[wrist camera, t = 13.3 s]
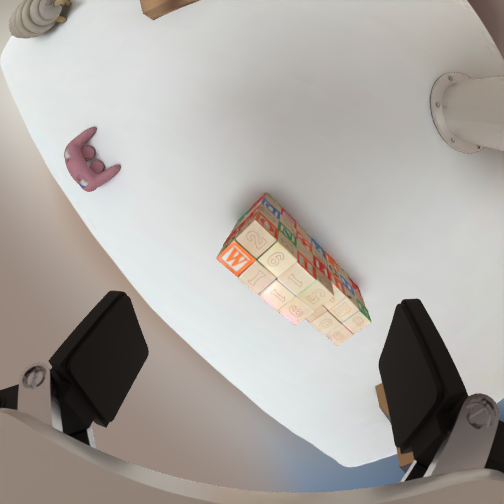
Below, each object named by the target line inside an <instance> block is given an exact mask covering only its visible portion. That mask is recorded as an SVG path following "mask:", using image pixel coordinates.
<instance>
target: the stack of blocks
mask: <svg viewBox="0 0 504 504" xmlns="http://www.w3.org/2000/svg"><path fill="white" fill-rule="evenodd" d="M216 259H217V260H218V261H219V262H220V263H222V264H223V265H224V266H225V267H226V268H227V269H229V270H230V271H231V272H232V273H233V274H234V275H236V276H238V279H239V280H240V281H241V282H242V283H244V284H245V285H246V286H247V287H248V288H250V289H251V290H252V291H253V292H255V293H256V294H258V295H259V297H260V298H261V299H263V300H264V301H265V302H266V303H268V304H269V305H270V306H271V307H273V308H274V309H275V310H278V312H279V313H281V314H282V315H283V316H284V317H286V318H287V319H288V320H289V321H291V322H292V323H293V324H294V325H297V324H298V323H299V322H301V321H302V320H304V319H306V320H308V321H309V322H310V324H311V325H313V326H314V327H315V328H316V329H317V330H318V331H320V332H321V333H322V334H323V335H325V336H326V337H328V338H329V339H330V340H331V341H332V342H334V343H335V344H336V345H337V346H338V345H339V344H341V343H342V342H344V341H345V340H347V339H349V338H350V337H352V336H353V335H354V334H355V333H357V332H358V331H360V330H361V329H363V328H364V327H366V326H367V325H369V324H370V323H371V319H370V316H369V313H368V310H367V309H366V307H365V304H364V301H363V298H362V296H361V293H360V290H359V288H358V287H357V286H356V285H355V283H354V282H353V281H352V280H351V279H350V278H349V277H348V275H347V274H346V273H345V272H344V271H343V270H342V269H341V268H340V267H339V266H338V265H337V264H336V262H335V261H334V260H333V259H332V258H331V257H330V256H329V255H328V254H327V253H326V252H325V251H323V249H322V248H321V247H320V246H319V245H318V244H317V243H316V242H315V241H314V240H313V239H312V238H311V237H310V236H309V235H308V234H307V233H306V232H305V231H304V230H303V229H302V228H301V227H300V226H299V225H298V224H297V223H296V221H295V220H294V219H293V218H292V217H291V216H290V215H289V214H288V213H287V212H286V211H285V210H284V209H283V208H282V207H281V206H280V205H279V204H278V203H277V202H276V201H275V200H274V199H273V198H272V197H271V196H270V195H269V194H268V193H265V194H264V195H263V196H262V197H261V198H260V199H259V200H258V201H257V202H256V203H255V204H254V205H253V206H252V208H251V209H250V210H249V211H248V212H247V213H246V214H245V215H244V216H243V217H242V218H241V219H240V220H238V222H237V223H236V225H235V227H234V229H233V230H232V232H231V234H230V235H229V237H228V238H227V240H226V241H225V243H224V245H223V248H222V249H221V251H220V253H219V254H218V256H217V258H216Z"/></svg>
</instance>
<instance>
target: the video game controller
mask: <svg viewBox="0 0 504 504" xmlns="http://www.w3.org/2000/svg"><path fill="white" fill-rule="evenodd" d="M95 131H96V128H95V127H92V128H89V129H87V130H85V131H84V132H82V133H81V134H80V135H78V136H77V137H76V138H75V139H73V140H72V141H71V142H70V143H69V144H68V145H67V147H66V149H65V152H64V157H65V162H66V166H67V169H68V171H69V173H70V174H71V176H72V177H73V179H74V180H75V181H76V182H77V183H78V184H79V185H80V186H81V187H82V189H84V190H85V191H88V192H91V191H94V190H96V189H97V187H100V186H101V185H103V184H104V183H106V182H107V181H108V180H110V179H111V178H112V177H113V176H115V175H116V174H117V173H118V171H119V170H120V167H119V166H118V165H116V166H113V167H110V168H109V169H107V170H106V171H104V172H102V170H103V167H104V166H103V163H102V162H100V161H98V160H97V161H94V162H93V163H92V164H91V166H90V168H89V166H88V164H87V163H86V161H88V160H91V159H92V157H93V156H94V153H95V152H94V149H93V148H92V147H89V146H87V147H84V146H83V145H84V144H85V142H86V141H87V140H88V139H89V138H90V137H91V136H92V135H93V134H94V133H95ZM101 172H102V173H101Z"/></svg>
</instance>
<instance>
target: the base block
mask: <svg viewBox="0 0 504 504" xmlns="http://www.w3.org/2000/svg"><path fill="white" fill-rule="evenodd" d="M197 1H199V0H140V3H141V7H142V12H143V14H145V15H146V16H148V17H150V18H151V19H153V20H155V19H157V18H159V17H161V16H163V15H165V14H168V13H170V12H172V11H174V10H177V9H179V8H181V7H184V6H186V5H189V4H191V3H194V2H197Z"/></svg>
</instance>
